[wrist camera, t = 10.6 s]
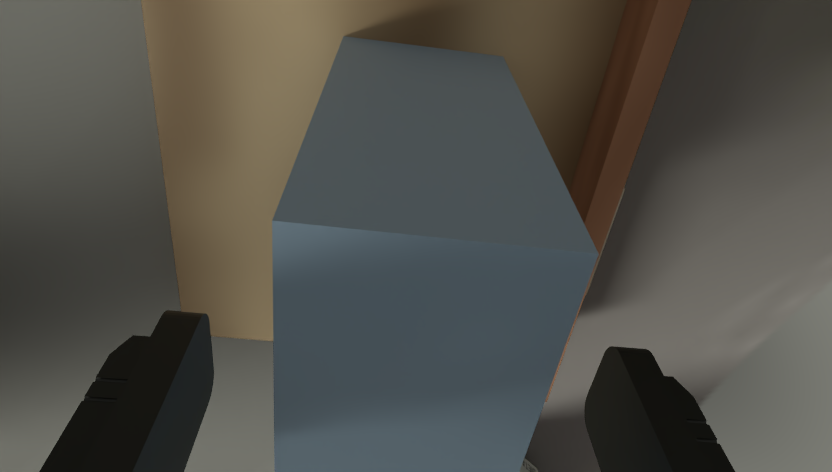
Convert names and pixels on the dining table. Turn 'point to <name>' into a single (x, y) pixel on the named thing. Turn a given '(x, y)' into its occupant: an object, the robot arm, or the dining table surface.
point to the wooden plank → (302, 86)
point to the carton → (420, 269)
